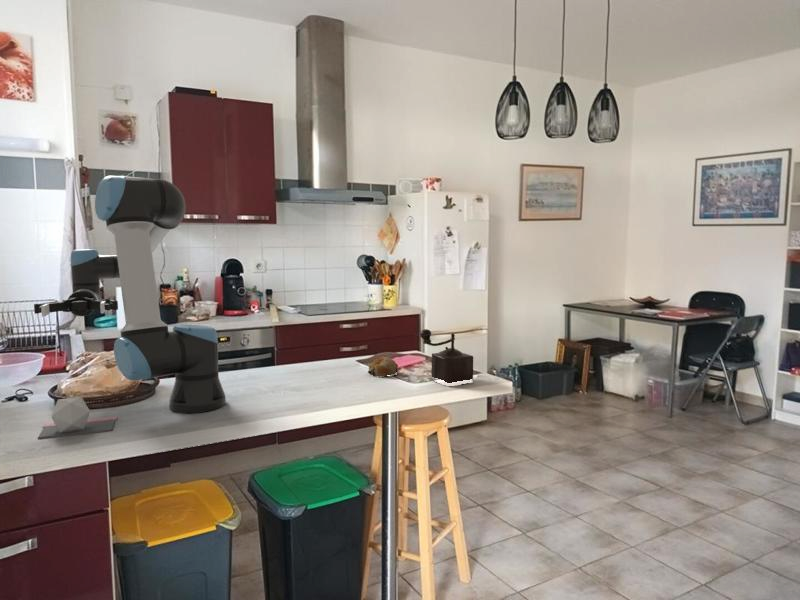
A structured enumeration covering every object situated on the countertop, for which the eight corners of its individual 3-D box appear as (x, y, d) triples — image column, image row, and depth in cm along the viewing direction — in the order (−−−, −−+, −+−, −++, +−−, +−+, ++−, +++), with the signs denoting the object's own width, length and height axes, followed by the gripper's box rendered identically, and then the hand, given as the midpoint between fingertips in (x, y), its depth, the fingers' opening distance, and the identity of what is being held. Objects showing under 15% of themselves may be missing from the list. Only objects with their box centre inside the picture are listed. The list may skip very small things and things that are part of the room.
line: (117, 417, 155) (117, 416, 155) (117, 419, 153) (117, 419, 153) (44, 425, 148) (44, 424, 148) (42, 427, 146) (42, 426, 146)
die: (92, 424, 150) (67, 395, 149) (103, 414, 144) (78, 384, 143) (63, 444, 143) (37, 414, 142) (74, 435, 138) (47, 403, 137)
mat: (114, 421, 152) (114, 419, 152) (112, 430, 144) (112, 429, 144) (44, 428, 146) (44, 427, 146) (37, 439, 138) (37, 437, 138)
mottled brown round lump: (392, 388, 200) (402, 367, 199) (364, 375, 200) (375, 354, 199) (392, 381, 210) (402, 361, 209) (366, 368, 210) (376, 349, 209)
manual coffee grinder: (454, 376, 202) (454, 325, 200) (473, 383, 193) (475, 330, 191) (416, 382, 194) (417, 328, 192) (435, 389, 185) (436, 333, 183)
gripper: (130, 312, 177) (126, 321, 157) (35, 317, 168) (18, 326, 148) (128, 288, 176) (124, 293, 157) (33, 291, 167) (16, 297, 147)
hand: (73, 309), depth 152 cm, fingers open, 13 cm apart
